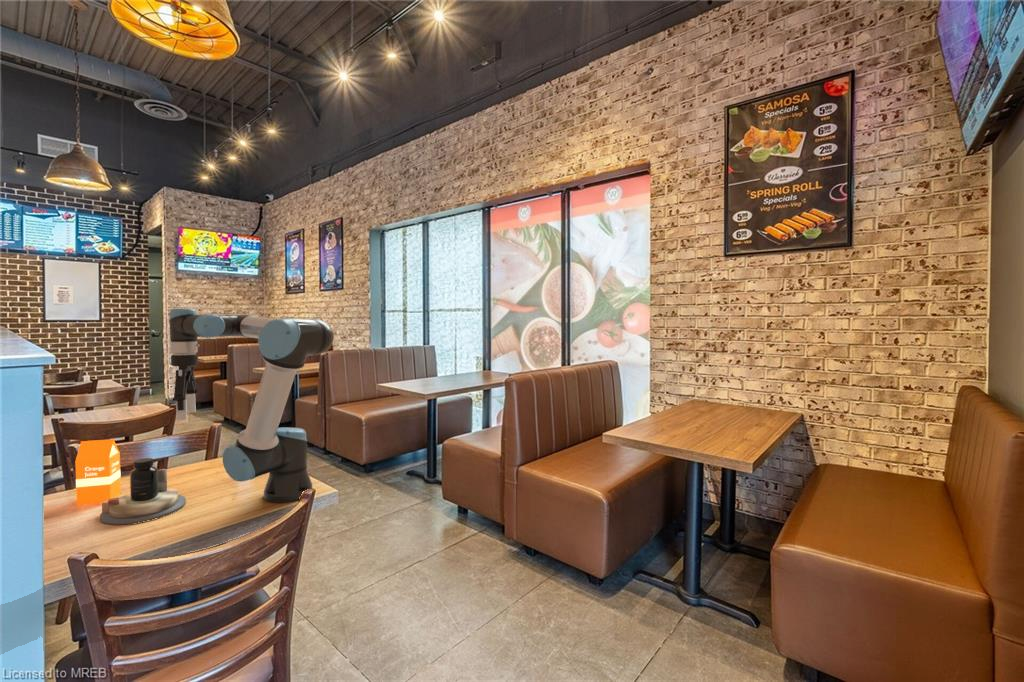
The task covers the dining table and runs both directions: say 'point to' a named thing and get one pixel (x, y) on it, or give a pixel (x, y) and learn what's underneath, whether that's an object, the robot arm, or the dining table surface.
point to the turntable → (129, 508)
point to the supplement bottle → (143, 480)
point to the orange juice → (97, 471)
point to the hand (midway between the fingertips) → (186, 415)
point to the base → (110, 520)
